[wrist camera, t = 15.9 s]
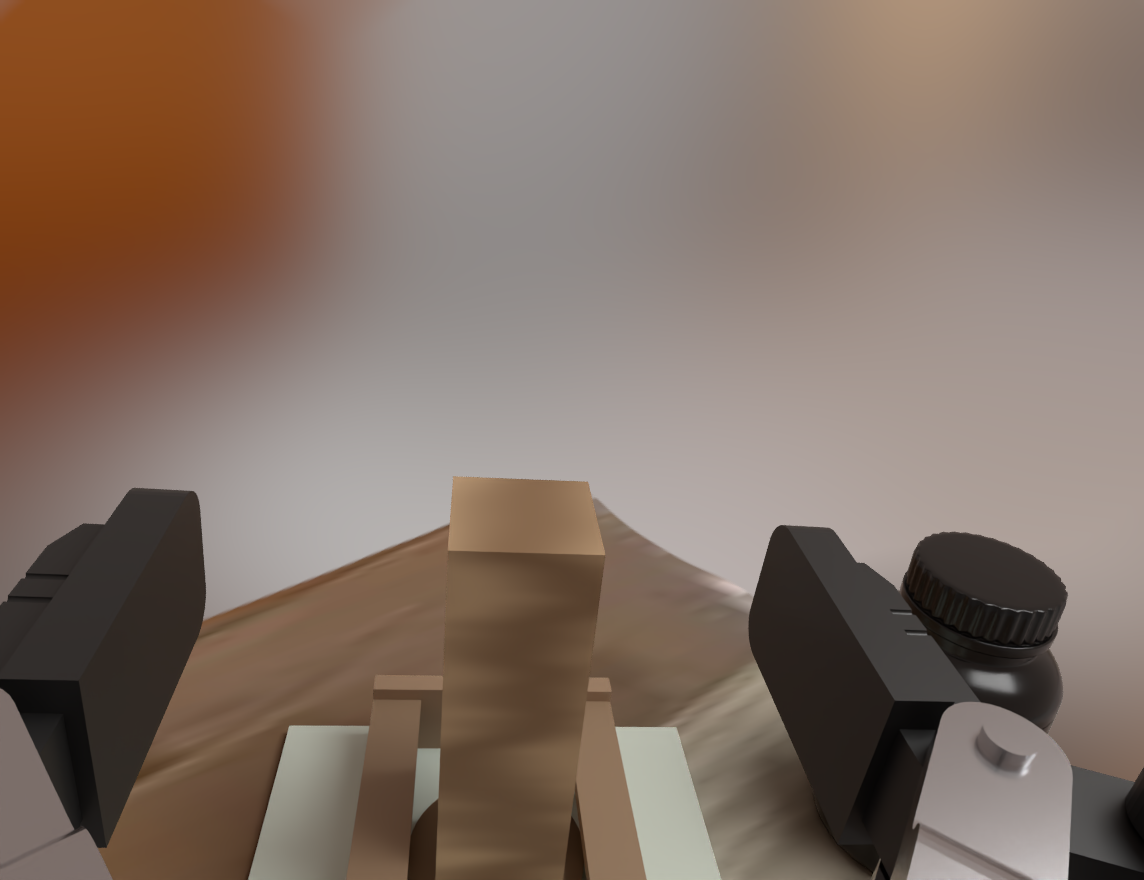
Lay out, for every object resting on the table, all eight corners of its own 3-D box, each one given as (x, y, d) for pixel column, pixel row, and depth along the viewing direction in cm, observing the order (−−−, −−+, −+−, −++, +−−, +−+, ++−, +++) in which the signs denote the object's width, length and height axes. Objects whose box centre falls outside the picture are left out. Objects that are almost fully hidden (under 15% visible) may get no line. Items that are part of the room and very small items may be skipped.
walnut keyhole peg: (399, 952, 26) (403, 572, 20) (414, 795, 31) (421, 459, 25) (591, 947, 27) (650, 578, 21) (573, 794, 32) (616, 467, 26)
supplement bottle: (798, 741, 36) (868, 501, 31) (958, 769, 36) (1055, 530, 31) (820, 880, 30) (912, 609, 25) (1014, 916, 30) (1147, 647, 25)
